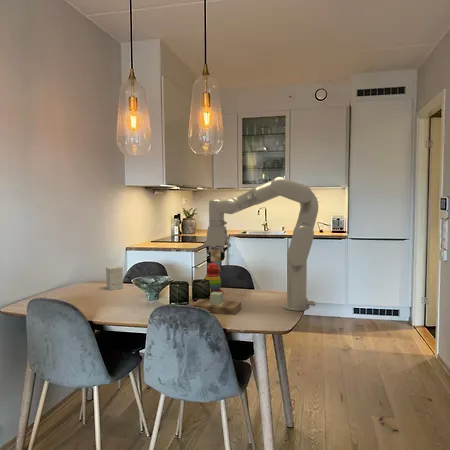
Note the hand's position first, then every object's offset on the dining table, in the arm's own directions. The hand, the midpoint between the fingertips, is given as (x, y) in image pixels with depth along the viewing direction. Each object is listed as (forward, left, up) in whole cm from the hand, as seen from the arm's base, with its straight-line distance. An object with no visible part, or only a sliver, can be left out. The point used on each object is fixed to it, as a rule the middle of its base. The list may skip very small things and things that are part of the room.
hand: (217, 259), depth 204 cm
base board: (-2, +9, -23) cm, 25 cm away
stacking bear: (+9, -19, -24) cm, 32 cm away
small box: (+71, -17, -24) cm, 76 cm away
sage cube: (-2, +9, -20) cm, 22 cm away
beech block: (0, 0, -1) cm, 1 cm away
